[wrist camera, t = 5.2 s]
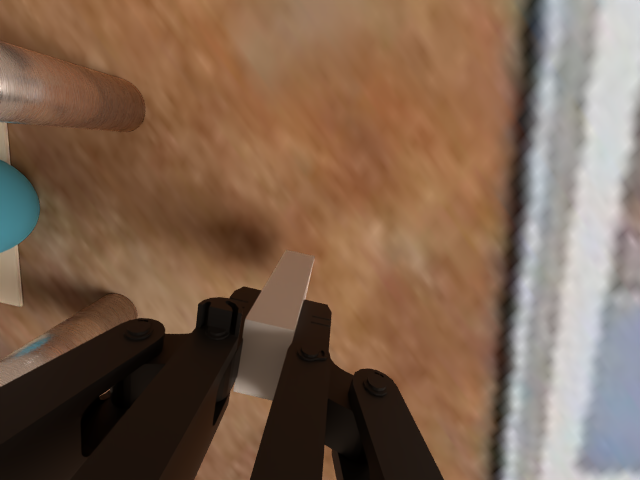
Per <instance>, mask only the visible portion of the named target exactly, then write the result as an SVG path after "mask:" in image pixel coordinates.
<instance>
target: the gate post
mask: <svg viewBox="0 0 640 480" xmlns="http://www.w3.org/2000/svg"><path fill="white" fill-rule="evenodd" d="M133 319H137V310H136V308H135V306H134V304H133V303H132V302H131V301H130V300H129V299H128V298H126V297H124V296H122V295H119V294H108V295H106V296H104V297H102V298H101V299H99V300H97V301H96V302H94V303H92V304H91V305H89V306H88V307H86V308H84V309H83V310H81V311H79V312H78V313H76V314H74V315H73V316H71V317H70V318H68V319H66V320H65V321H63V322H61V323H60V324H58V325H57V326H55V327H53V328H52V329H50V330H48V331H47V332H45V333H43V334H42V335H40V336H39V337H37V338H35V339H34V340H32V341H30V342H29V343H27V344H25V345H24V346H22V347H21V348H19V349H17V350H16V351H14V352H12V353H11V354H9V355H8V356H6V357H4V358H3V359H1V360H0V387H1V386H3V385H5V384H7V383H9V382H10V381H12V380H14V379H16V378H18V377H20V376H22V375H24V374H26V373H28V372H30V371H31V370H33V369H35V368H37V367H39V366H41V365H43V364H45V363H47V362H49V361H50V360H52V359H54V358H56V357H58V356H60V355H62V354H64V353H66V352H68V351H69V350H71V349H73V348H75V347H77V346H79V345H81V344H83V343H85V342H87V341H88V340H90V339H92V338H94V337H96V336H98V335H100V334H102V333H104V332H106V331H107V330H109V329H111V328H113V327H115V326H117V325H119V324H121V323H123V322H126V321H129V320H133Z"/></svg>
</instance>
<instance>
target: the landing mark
mask: <svg viewBox="0 0 640 480" xmlns="http://www.w3.org/2000/svg"><path fill="white" fill-rule="evenodd" d="M0 160H2V161H4V162H6V163H8V164H9V165H11V163H10V152H9V140H8V129H7V123H5V122H0ZM0 302H1V303H5V304H10V305H14V306H18V307H21V306H23V299H22V288H21V276H20V265H19V254H18V245H16V246H14V247H13V248H11V249H9V250H6V251H4V252H2V253H0Z"/></svg>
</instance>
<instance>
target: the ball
mask: <svg viewBox="0 0 640 480" xmlns="http://www.w3.org/2000/svg"><path fill="white" fill-rule="evenodd" d="M39 213H40V204H39V199H38V196H37V193H36V191H35V189H34V187H33V186H32V184H31V183H30V181H29V180H28V179H27V178H26V177H25V176H24V175H23V174H22V173H21V172H19V171H18V170H17V169H15V168H14V167H13V166H11V165H9V164H8V163H6V162H4V161H2V160H0V253H2V252H4V251H6V250H9V249H11V248H13V247H14V246H16V245H18V244H19V243H20V242H22V241H23V240H24V239H25V238H27V236H28V235H29V234H30V233H31V232H32V230H33V229H34V227H35V226H36V224H37V221H38V218H39Z"/></svg>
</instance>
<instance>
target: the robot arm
mask: <svg viewBox="0 0 640 480" xmlns="http://www.w3.org/2000/svg"><path fill="white" fill-rule="evenodd" d="M314 258H315V256H311V255H307V254H302V253H298V252H294V251H289V250H285V252H284V254H283V255H282V257H281V259H280V260H279V262H278V264H277V266H276V267H275V269H274V271H273V272H272V274H271V276H270V278H269V279H268V281H267V283H266V284H265V286H264V288H263V290H262V291H261V290H257V289H253V288H248V287H242V288H240V289H238V290H236V291H234V293H233V294H232V295H231V296H230V298H222V297H217V298H209V299H206V300H203V301H202V302H200V303H199V304H198V313H197V322H196V328H195V329H194V330H193V332H192V333H189V334H165V328H164V326H163V324H162V323H160V322H159V321H157V320H153V319H146V318H139V319H133V320H129V321H126V322H123V323H121V324H119V325H117V326H115V327H113V328H111V329H109V330H107V331H106V332H104V333H102V334H100V335H98V336H96V337H94V338H92V339H90V340H88V341H87V342H85V343H83V344H81V345H79V346H77V347H75V348H73V349H71V350H69V351H68V352H66V353H64V354H62V355H60V356H58V357H56V358H54V359H52V360H50V361H49V362H47V363H45V364H43V365H41V366H39V367H37V368H35V369H33V370H31V371H30V372H28V373H26V374H24V375H22V376H20V377H18V378H16V379H14V380H12V381H10V382H9V383H7V384H5V385H3V386H1V387H0V480H194V479H195V476H196V474H197V472H198V470H199V468H200V465H201V463H202V461H203V459H204V457H205V454H206V452H207V450H208V448H209V446H210V443H211V441H212V439H213V437H214V434H215V432H216V430H217V428H218V426H219V423H220V421H221V419H222V417H223V415H224V412H225V410H226V408H227V406H228V402H229V396H230V391H231V389H232V387H233V384H234V382H235V386H234V392H238V393H243V394H247V395H251V396H255V397H260V398H264V399H268V400H272V401H273V402H272V405H271V409H270V412H269V416H268V419H267V423H266V426H265V429H264V433H263V436H262V440H261V443H260V447H259V450H258V454H257V457H256V461H255V464H254V468H253V471H252V474H251V478H250V480H322V472H323V458H324V444H325V445H326V446H328V447H330V448H331V449H332V458H333V463H334V468H335V473H336V478H337V480H444V479H443V477H442V475H441V473H440V471H439V469H438V467H437V465H436V463H435V461H434V459H433V457H432V455H431V453H430V451H429V449H428V447H427V445H426V443H425V441H424V439H423V437H422V435H421V433H420V431H419V429H418V427H417V425H416V423H415V421H414V419H413V417H412V415H411V413H410V411H409V409H408V407H407V405H406V403H405V401H404V399H403V397H402V395H401V393H400V391H399V389H398V387H397V386H396V384H395V383H394V382H393V380H392V379H391V378H389V377H388V376H387V375H386V374H384V373H382V372H379V371H377V370H373V369H360V370H359V371H357V372H355V374H354V375H352V374H350V373H347V372H345V371H344V370H342V369H340V368H339V367H338V366H337V365H335V364H334V362H333V361H332V360H331V358H330V353H329V339H330V326H331V313H332V312H331V310H330V309H329V307H328V305H326V304H322V303H317V302H313V301H309V300H305V298H306V294H307V289H308V285H309V280H310V276H311V271H312V267H313V262H314ZM109 389H110V390H109ZM107 390H109V391H108V392H107V393H105V394H103V393H104V392H106V391H107ZM102 394H103V395H102ZM100 395H101V396H100Z"/></svg>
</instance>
